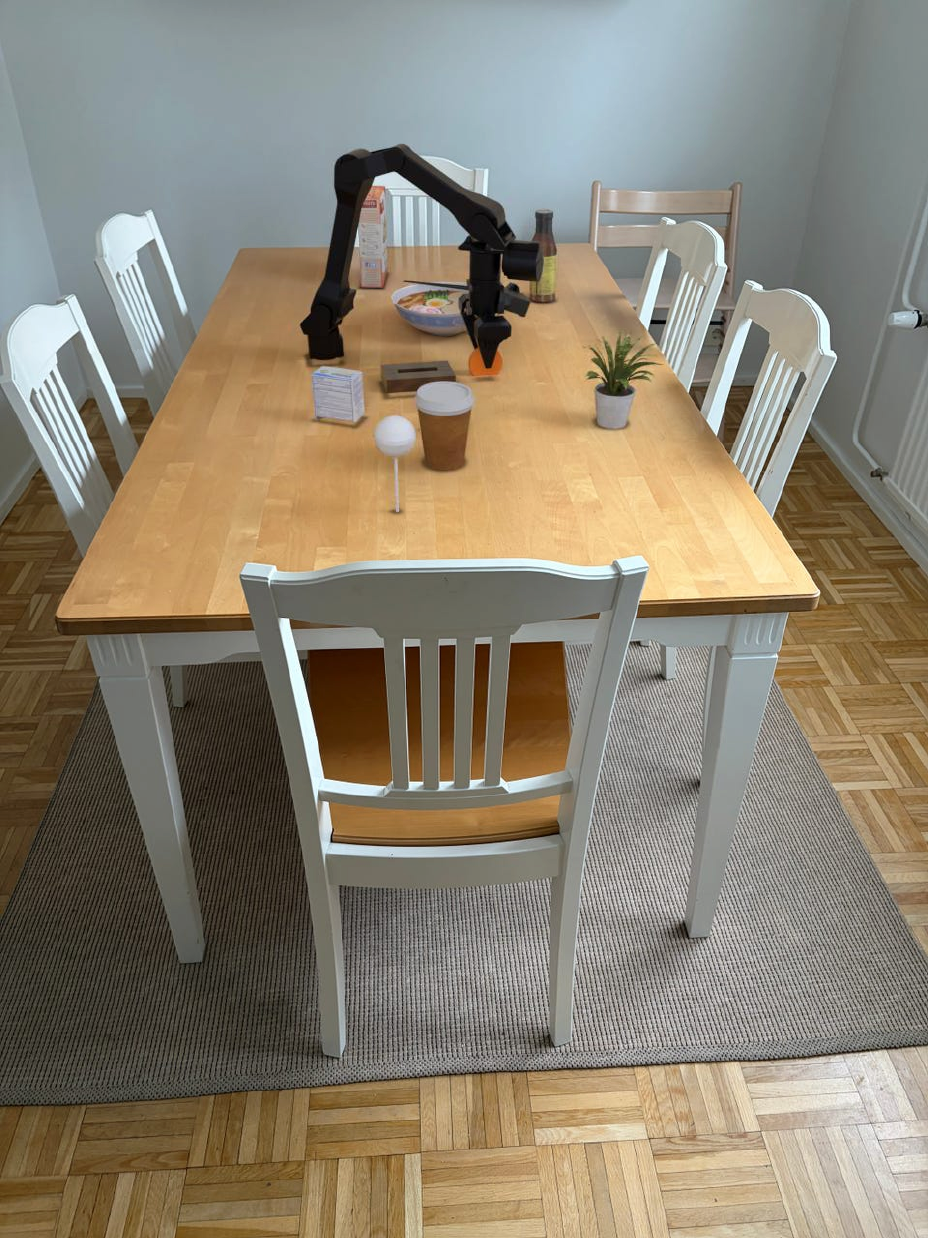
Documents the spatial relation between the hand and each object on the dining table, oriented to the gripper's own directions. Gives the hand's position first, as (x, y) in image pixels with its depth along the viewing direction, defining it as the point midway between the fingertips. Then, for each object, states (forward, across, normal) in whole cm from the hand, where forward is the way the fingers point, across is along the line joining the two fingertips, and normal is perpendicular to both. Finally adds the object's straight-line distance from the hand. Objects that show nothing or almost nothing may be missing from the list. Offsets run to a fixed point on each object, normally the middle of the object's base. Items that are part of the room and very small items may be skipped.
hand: (483, 359), depth 182 cm
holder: (+4, -2, +13) cm, 14 cm away
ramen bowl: (+4, +29, +2) cm, 29 cm away
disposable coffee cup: (+4, -34, +14) cm, 37 cm away
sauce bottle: (+4, +47, -25) cm, 53 cm away
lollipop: (+4, -49, +24) cm, 55 cm away
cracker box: (+4, +69, +12) cm, 70 cm away
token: (+4, 0, 0) cm, 4 cm away
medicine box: (+4, -14, +29) cm, 32 cm away
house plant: (+4, -25, -17) cm, 30 cm away
